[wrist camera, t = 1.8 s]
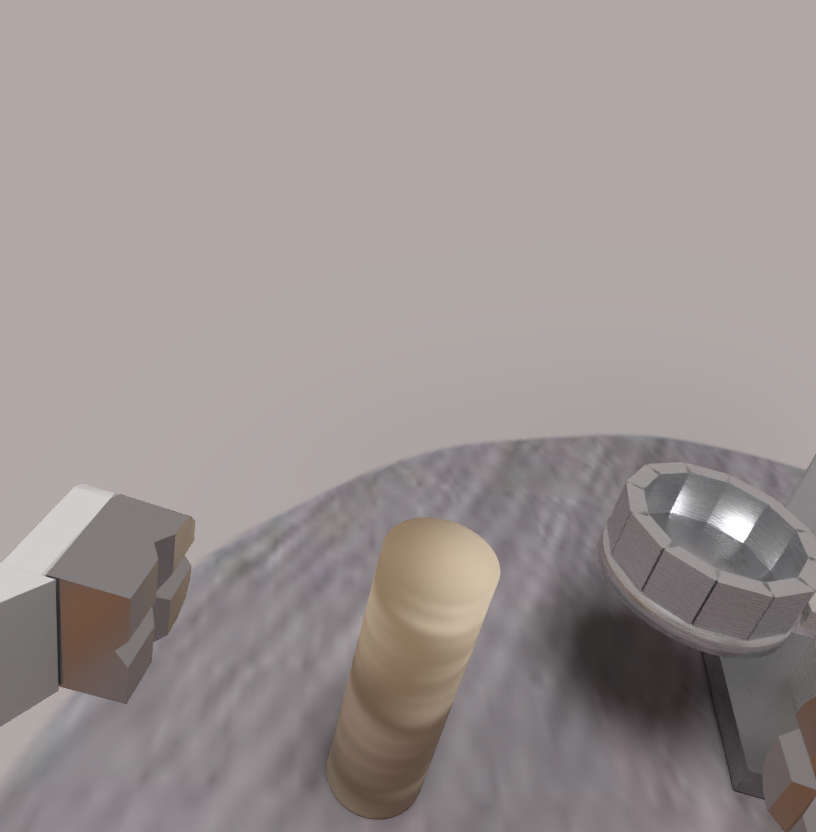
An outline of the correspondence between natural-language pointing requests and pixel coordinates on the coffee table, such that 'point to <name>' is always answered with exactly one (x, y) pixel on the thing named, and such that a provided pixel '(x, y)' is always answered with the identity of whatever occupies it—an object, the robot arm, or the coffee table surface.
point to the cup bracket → (722, 596)
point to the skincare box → (805, 498)
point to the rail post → (409, 662)
